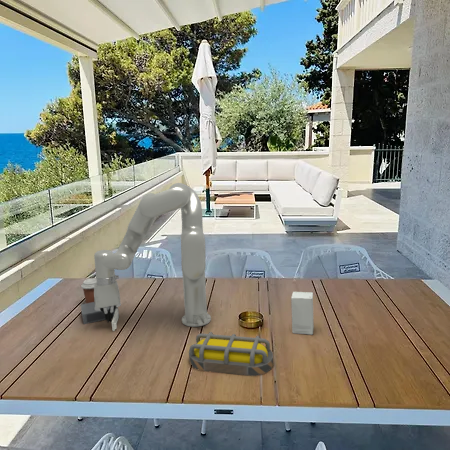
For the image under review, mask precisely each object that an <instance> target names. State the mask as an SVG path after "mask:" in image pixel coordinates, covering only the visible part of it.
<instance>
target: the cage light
mask: <svg viewBox="0 0 450 450" xmlns="http://www.w3.org/2000/svg"><path fill="white" fill-rule="evenodd" d="M201 338H202V339H201ZM195 342H196V343H194V344H191V345H190V347H189V351H188V360H189V365H190V364H191V365H192V366H193V367H194V368H193V367H192V366H191V365H190V366H191V367H192V368H193V369H195V368H196V370H197V369H199V370H198V371H201V370H203V372H209V371H211V373H219V374H231V375H236V376H237V375H240V376H249V377H250V376H251V377H252V376H253V377H254V376H255V377H256V376H261V375H265V374H266V373H268V372H270V371H271V370H272V368H273V366H274V353H273V351H272V350H271V344H270V341H269V340H268V339H266V338H261V337H260V335H257V336H256V335H255V337H250V336H249V337H248V336H237V334H236V333H232V335H226V334H225V335H223V334H213V332H212V331H210V332H209V333H199V334H197V335H196V337H195ZM264 344H265V345H264Z"/></svg>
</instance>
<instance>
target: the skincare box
mask: <svg viewBox="0 0 450 450" xmlns="http://www.w3.org/2000/svg"><path fill="white" fill-rule="evenodd" d="M290 299H291V302H290V303H291V330H292V331H291V332H292V334H299V335H313V334H314V324H315V323H314V292H311V291H310V292H309V291H307V292H306V291H292V294H291V298H290Z"/></svg>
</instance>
